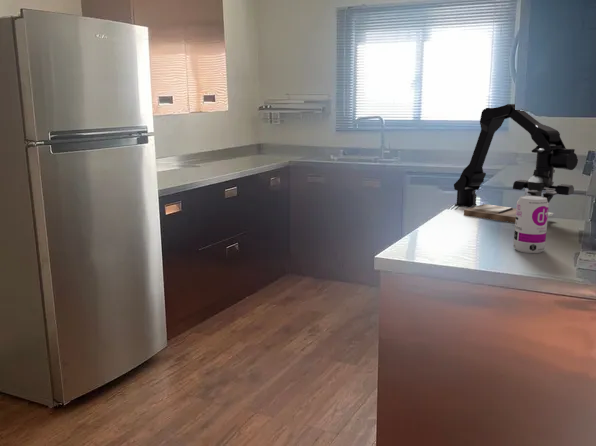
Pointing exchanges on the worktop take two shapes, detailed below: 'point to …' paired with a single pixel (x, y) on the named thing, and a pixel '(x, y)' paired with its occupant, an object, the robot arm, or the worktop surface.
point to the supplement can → (531, 224)
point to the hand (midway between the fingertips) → (540, 212)
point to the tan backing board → (492, 212)
